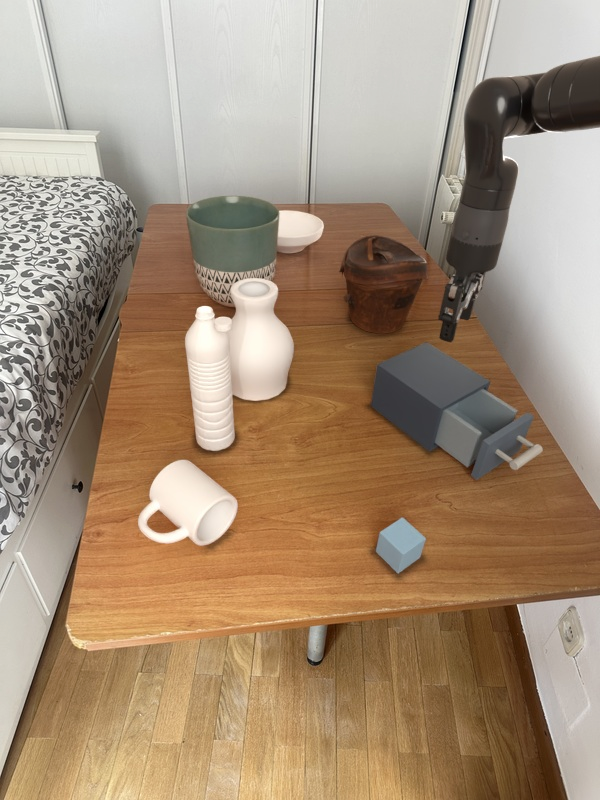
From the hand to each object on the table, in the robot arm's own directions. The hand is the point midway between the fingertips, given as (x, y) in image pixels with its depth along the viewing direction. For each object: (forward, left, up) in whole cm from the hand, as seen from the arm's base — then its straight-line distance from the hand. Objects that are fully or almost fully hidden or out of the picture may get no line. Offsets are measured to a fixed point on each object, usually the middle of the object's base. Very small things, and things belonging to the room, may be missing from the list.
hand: (455, 328), depth 89 cm
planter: (+33, -44, -17) cm, 58 cm away
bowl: (+16, -73, -17) cm, 77 cm away
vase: (+32, -12, -17) cm, 38 cm away
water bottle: (+40, +4, -17) cm, 44 cm away
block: (+17, +30, -17) cm, 38 cm away
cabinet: (+3, +2, -17) cm, 17 cm away
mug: (+46, +21, -17) cm, 53 cm away
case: (+2, -32, -17) cm, 37 cm away
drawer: (-2, +12, -16) cm, 20 cm away
